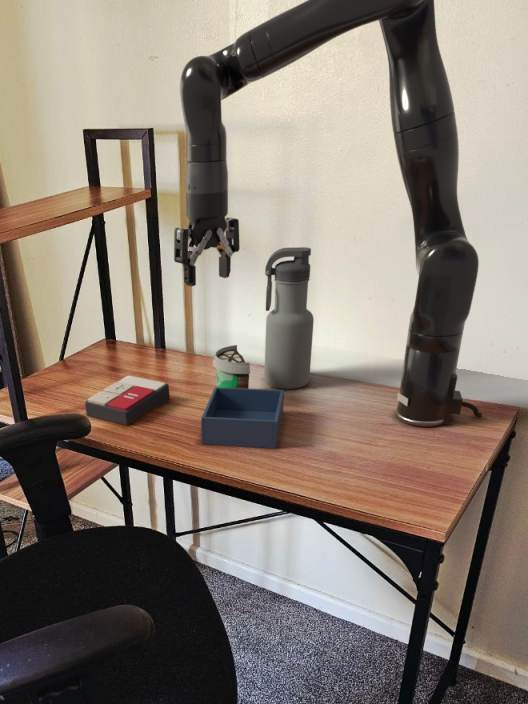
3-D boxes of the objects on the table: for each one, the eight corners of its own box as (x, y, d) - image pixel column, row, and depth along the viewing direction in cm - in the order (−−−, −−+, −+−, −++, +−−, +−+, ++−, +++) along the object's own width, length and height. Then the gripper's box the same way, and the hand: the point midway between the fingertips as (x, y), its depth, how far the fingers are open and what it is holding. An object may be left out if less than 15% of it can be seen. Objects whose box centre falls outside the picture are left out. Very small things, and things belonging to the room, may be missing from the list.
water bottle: (259, 389, 153) (264, 254, 138) (264, 373, 161) (268, 244, 146) (308, 391, 150) (317, 254, 136) (310, 375, 158) (319, 244, 144)
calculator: (83, 398, 144) (127, 372, 154) (86, 417, 146) (129, 390, 156) (126, 408, 138) (169, 380, 148) (128, 428, 140) (170, 399, 150)
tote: (282, 415, 141) (284, 389, 138) (276, 448, 128) (277, 421, 125) (214, 411, 144) (214, 387, 141) (201, 444, 131) (201, 417, 129)
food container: (207, 391, 153) (207, 346, 148) (235, 389, 154) (236, 344, 149) (219, 413, 143) (219, 366, 138) (249, 411, 143) (250, 363, 138)
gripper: (190, 195, 120) (192, 292, 129) (250, 184, 127) (248, 277, 136) (162, 192, 125) (166, 285, 134) (221, 182, 132) (221, 271, 141)
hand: (207, 281), depth 135 cm, fingers open, 8 cm apart
